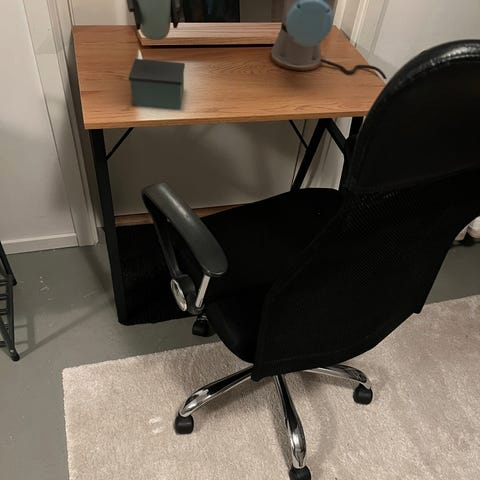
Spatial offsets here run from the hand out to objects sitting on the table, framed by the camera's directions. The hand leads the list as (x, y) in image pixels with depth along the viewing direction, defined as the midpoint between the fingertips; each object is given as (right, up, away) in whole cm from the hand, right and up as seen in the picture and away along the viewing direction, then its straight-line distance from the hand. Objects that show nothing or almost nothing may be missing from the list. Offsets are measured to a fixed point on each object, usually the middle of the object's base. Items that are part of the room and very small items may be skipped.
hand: (157, 25), depth 105 cm
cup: (-1, 0, +5) cm, 5 cm away
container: (-2, -9, +15) cm, 18 cm away
